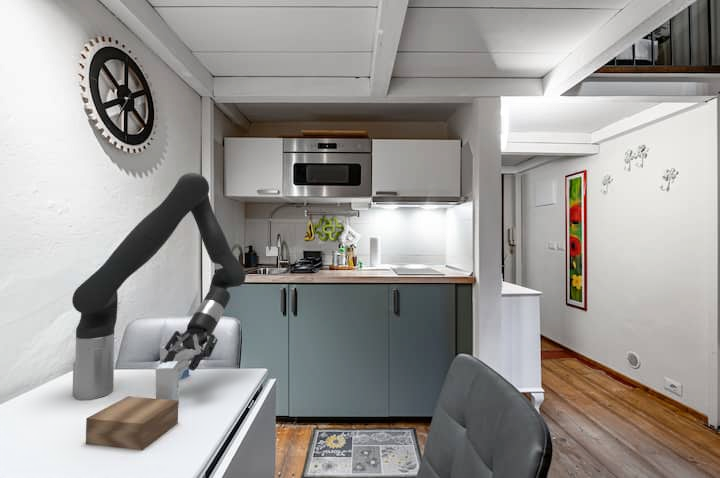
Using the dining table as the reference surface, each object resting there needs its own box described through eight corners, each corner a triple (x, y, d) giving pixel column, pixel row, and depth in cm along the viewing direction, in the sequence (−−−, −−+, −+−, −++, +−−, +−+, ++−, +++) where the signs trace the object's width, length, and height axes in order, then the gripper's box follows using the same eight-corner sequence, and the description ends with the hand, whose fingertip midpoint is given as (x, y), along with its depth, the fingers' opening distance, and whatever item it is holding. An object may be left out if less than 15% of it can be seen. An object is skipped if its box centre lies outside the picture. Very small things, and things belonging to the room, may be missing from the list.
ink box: (177, 374, 125) (177, 339, 125) (190, 375, 124) (190, 340, 124) (158, 384, 116) (159, 346, 116) (172, 385, 115) (173, 347, 115)
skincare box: (173, 414, 96) (173, 367, 96) (154, 415, 95) (155, 368, 95) (179, 404, 102) (180, 360, 102) (161, 405, 101) (162, 361, 101)
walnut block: (85, 445, 82) (86, 418, 82) (127, 419, 94) (128, 396, 94) (142, 451, 80) (142, 423, 80) (177, 424, 92) (178, 400, 92)
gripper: (180, 309, 113) (149, 358, 102) (220, 312, 109) (192, 363, 98) (192, 323, 118) (164, 371, 107) (231, 326, 114) (206, 376, 103)
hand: (178, 367), depth 102 cm, fingers open, 8 cm apart
